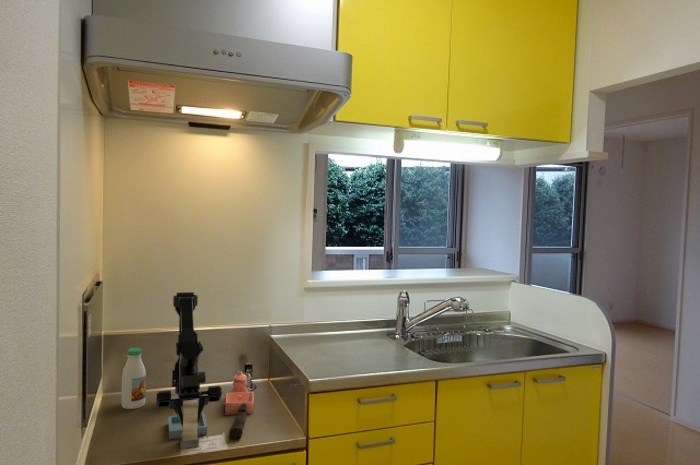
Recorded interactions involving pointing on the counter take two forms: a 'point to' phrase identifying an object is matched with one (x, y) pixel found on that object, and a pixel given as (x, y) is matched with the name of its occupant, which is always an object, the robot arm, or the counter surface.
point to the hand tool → (238, 423)
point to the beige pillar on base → (189, 425)
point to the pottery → (239, 396)
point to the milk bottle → (133, 380)
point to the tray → (176, 427)
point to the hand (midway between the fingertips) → (190, 424)
